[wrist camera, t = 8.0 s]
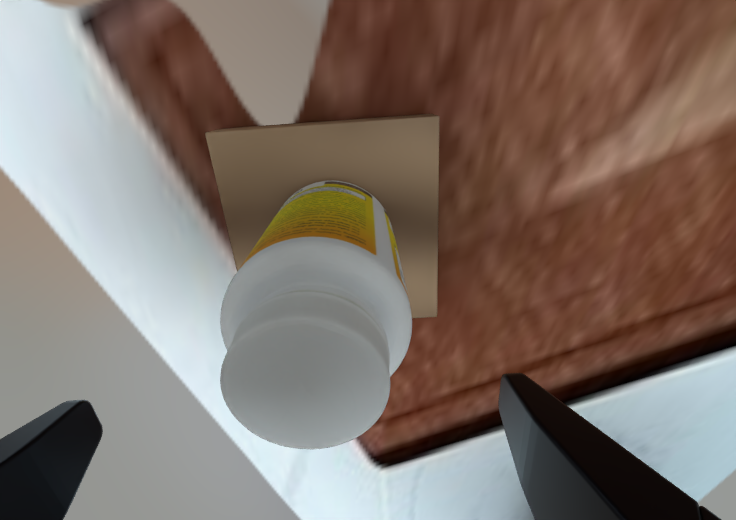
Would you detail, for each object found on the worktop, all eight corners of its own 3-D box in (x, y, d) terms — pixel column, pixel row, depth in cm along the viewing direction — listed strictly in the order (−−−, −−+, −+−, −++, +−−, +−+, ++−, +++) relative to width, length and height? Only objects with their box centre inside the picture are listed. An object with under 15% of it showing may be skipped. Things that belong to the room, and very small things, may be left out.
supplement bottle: (252, 224, 18) (127, 373, 8) (344, 151, 16) (319, 230, 7) (327, 305, 19) (294, 501, 10) (415, 246, 18) (471, 407, 9)
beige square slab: (430, 298, 22) (437, 316, 20) (259, 308, 22) (250, 328, 20) (431, 113, 18) (439, 116, 16) (221, 128, 18) (204, 132, 16)
